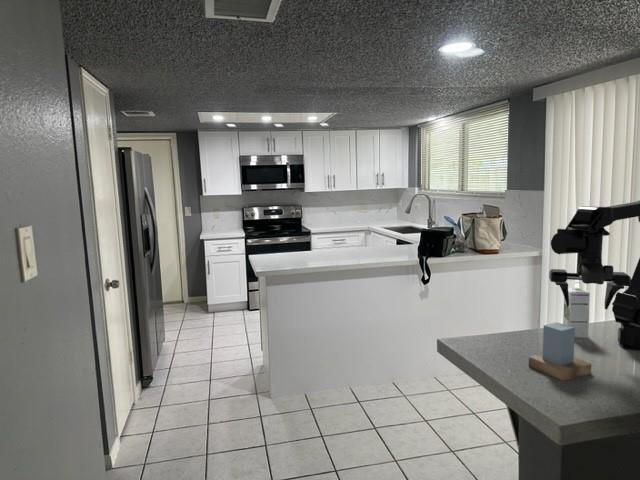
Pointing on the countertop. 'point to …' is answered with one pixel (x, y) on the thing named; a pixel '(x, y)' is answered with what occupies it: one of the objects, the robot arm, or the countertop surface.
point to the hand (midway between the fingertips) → (586, 307)
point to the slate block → (558, 343)
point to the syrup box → (577, 311)
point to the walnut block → (560, 367)
